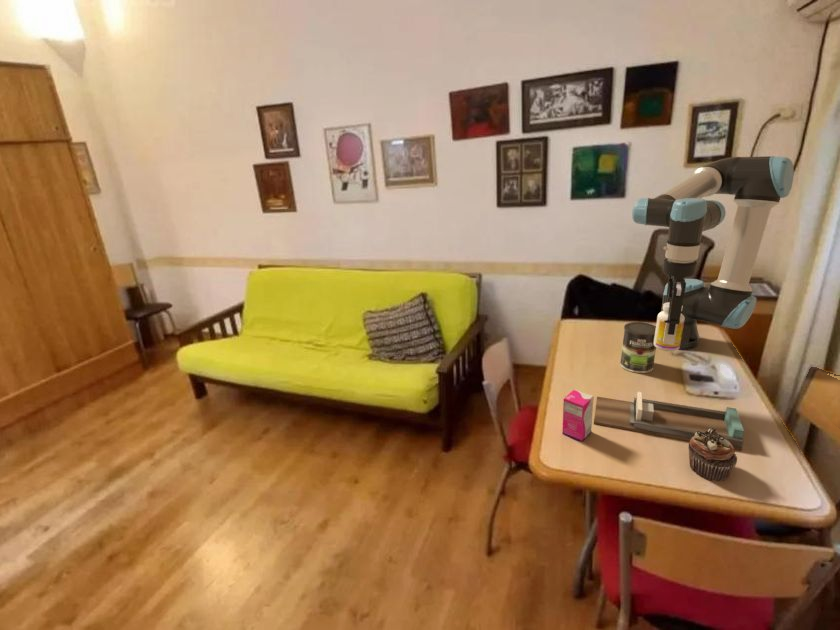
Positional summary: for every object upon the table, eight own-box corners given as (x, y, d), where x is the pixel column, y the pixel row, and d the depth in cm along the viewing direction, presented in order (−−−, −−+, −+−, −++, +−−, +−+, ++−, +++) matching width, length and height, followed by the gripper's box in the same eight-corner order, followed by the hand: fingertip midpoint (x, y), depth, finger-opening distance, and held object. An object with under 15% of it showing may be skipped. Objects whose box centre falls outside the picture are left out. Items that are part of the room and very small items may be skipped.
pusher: (635, 405, 126) (637, 391, 124) (651, 407, 124) (653, 393, 122) (636, 423, 118) (638, 409, 116) (652, 426, 117) (655, 412, 115)
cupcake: (715, 489, 97) (724, 453, 93) (675, 463, 105) (682, 429, 101) (743, 475, 100) (752, 439, 97) (702, 450, 109) (710, 416, 105)
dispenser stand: (596, 398, 132) (598, 385, 130) (731, 420, 118) (734, 405, 117) (593, 423, 121) (595, 409, 119) (741, 450, 108) (745, 434, 106)
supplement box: (571, 423, 122) (573, 388, 118) (591, 432, 118) (595, 396, 114) (560, 433, 118) (563, 397, 114) (581, 442, 114) (585, 406, 110)
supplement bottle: (683, 352, 121) (690, 309, 116) (657, 352, 122) (663, 309, 118) (674, 342, 127) (681, 300, 122) (650, 341, 128) (656, 300, 124)
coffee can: (654, 375, 142) (660, 336, 136) (620, 371, 146) (624, 332, 140) (652, 360, 150) (657, 323, 145) (619, 357, 154) (623, 320, 149)
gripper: (662, 249, 125) (651, 323, 133) (667, 269, 108) (654, 351, 117) (692, 250, 122) (679, 326, 130) (702, 270, 105) (686, 355, 114)
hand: (667, 338), depth 124 cm, fingers closed on supplement bottle, 7 cm apart
